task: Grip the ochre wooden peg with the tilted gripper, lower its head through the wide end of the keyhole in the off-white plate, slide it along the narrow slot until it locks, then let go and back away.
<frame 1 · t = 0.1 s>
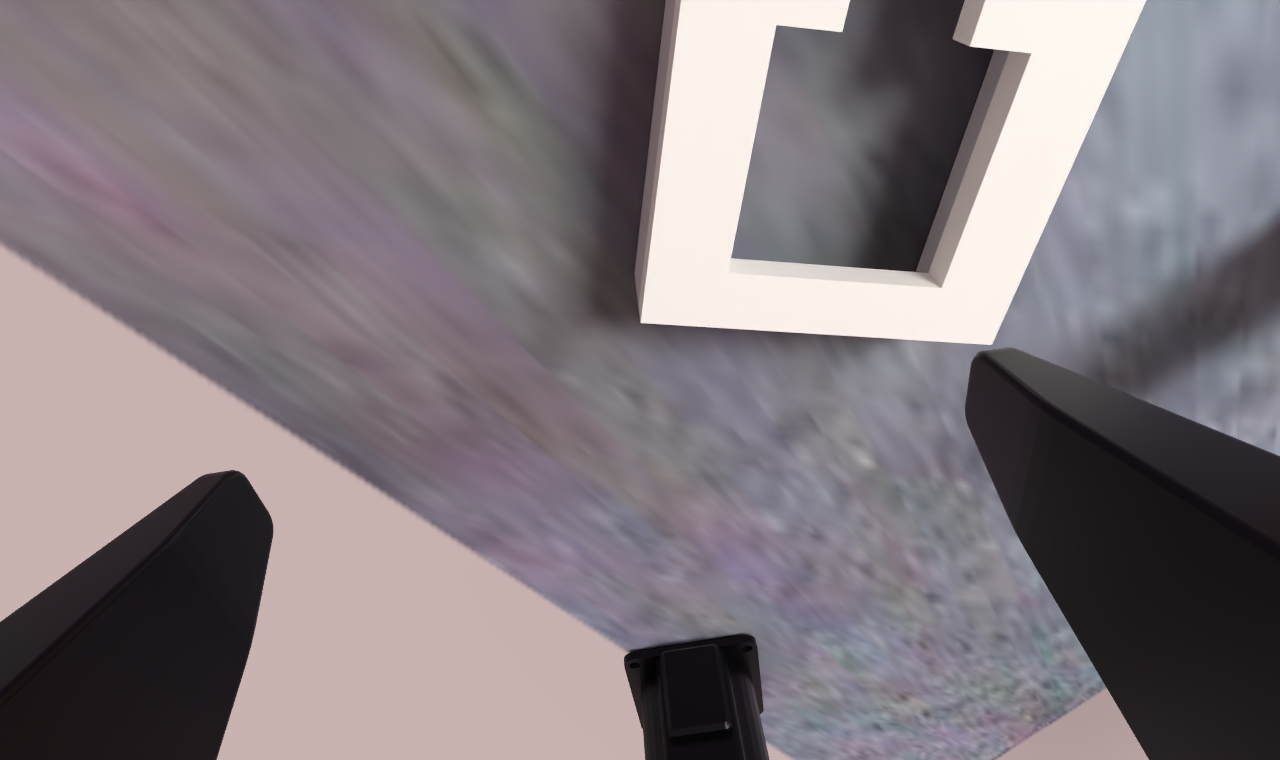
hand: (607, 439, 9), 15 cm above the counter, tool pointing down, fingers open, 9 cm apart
keyhole plate: (851, 65, 21), on the counter
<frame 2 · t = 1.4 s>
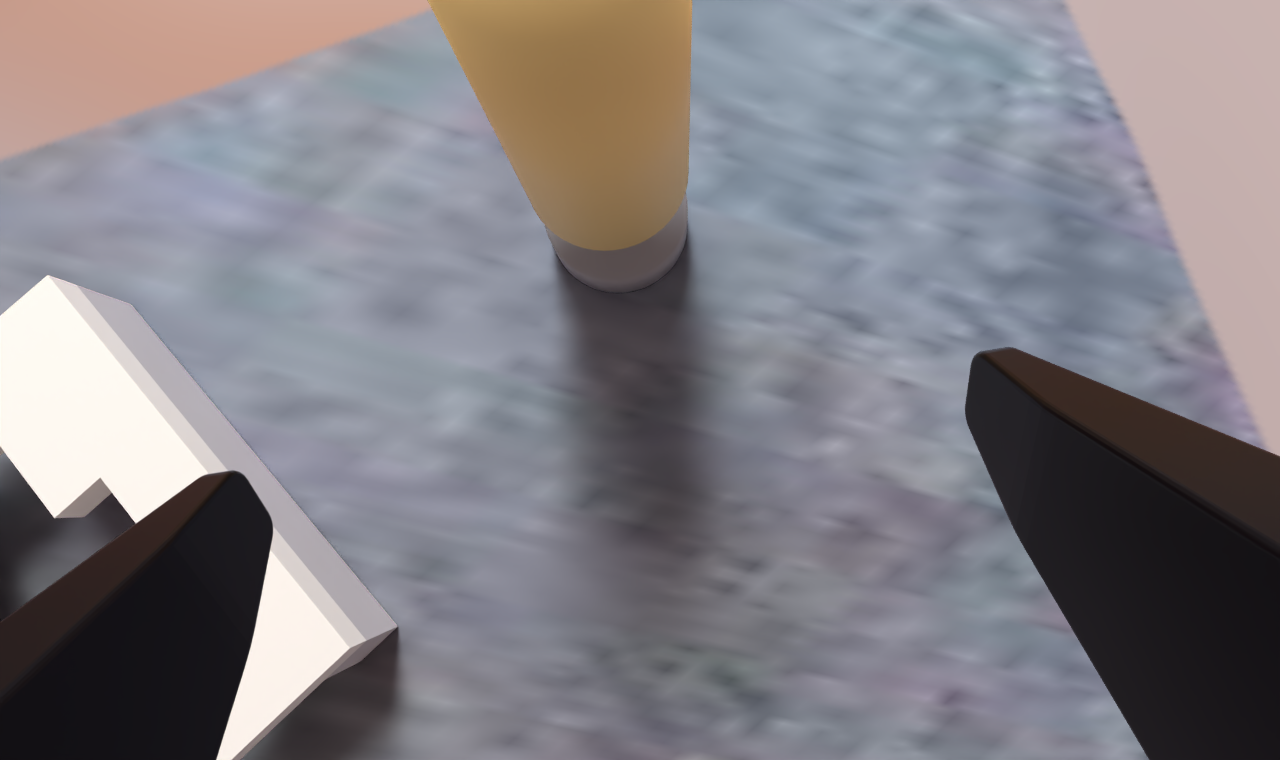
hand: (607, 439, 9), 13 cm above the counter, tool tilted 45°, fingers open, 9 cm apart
keyhole plate: (123, 579, 23), on the counter
headed peg: (619, 227, 23), on the counter
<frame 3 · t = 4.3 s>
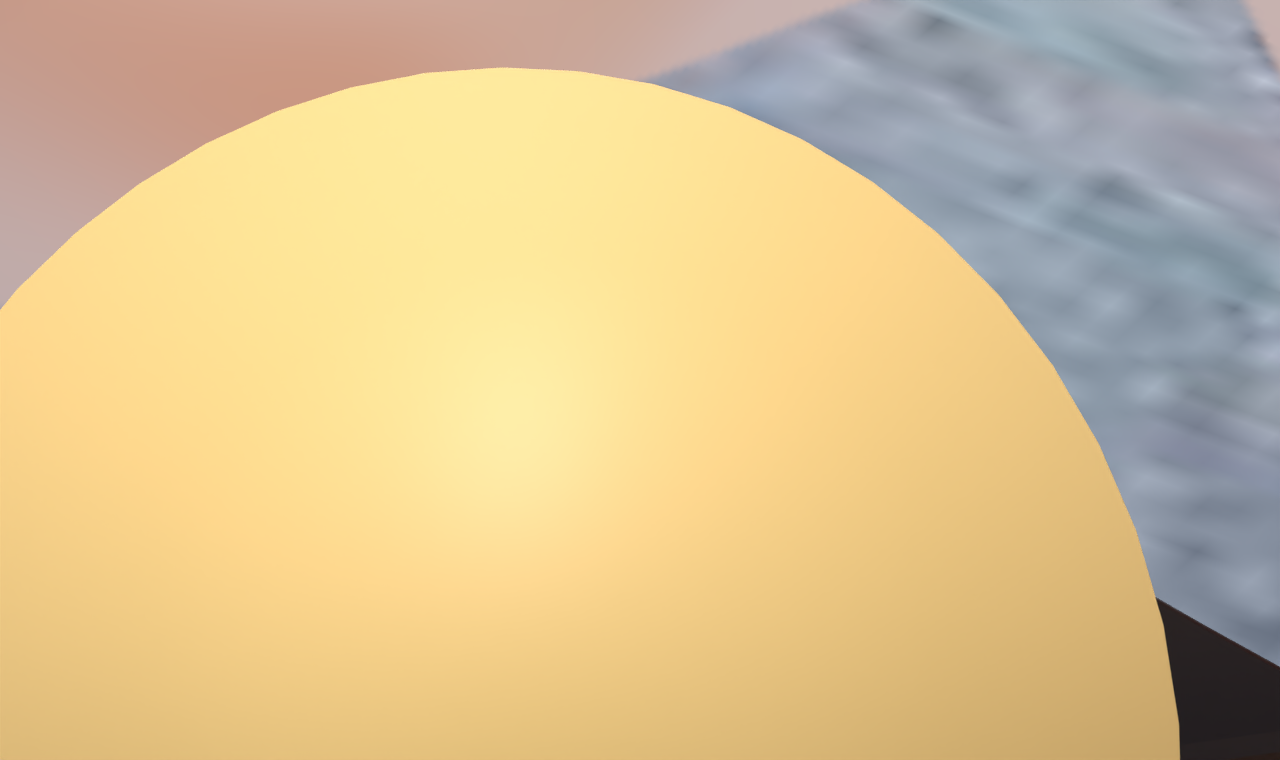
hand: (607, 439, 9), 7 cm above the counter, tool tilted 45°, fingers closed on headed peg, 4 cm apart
headed peg: (648, 531, 15), on the counter, touching gripper
when the fingers open (7 cm above the counter, at t = 11.0 s): headed peg stays where it is, on the counter.
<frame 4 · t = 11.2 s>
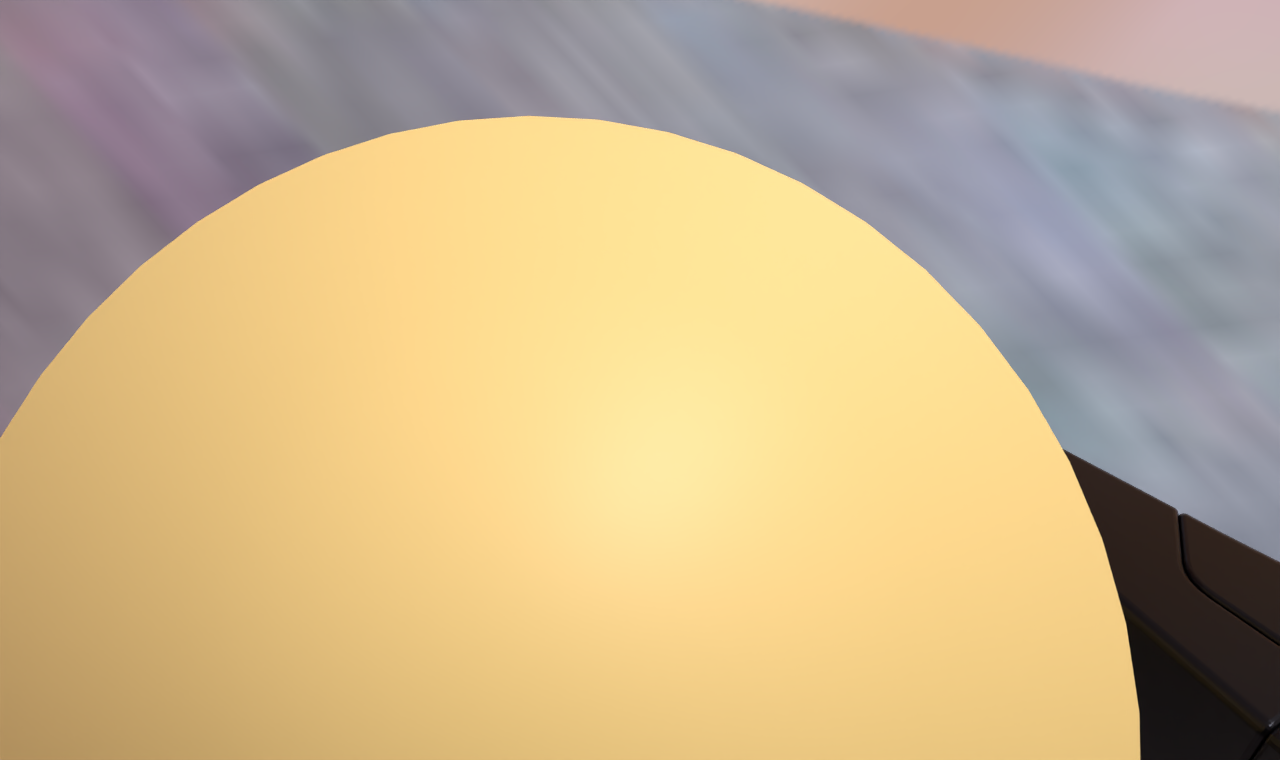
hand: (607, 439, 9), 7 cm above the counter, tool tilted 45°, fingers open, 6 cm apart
headed peg: (650, 533, 15), on the counter
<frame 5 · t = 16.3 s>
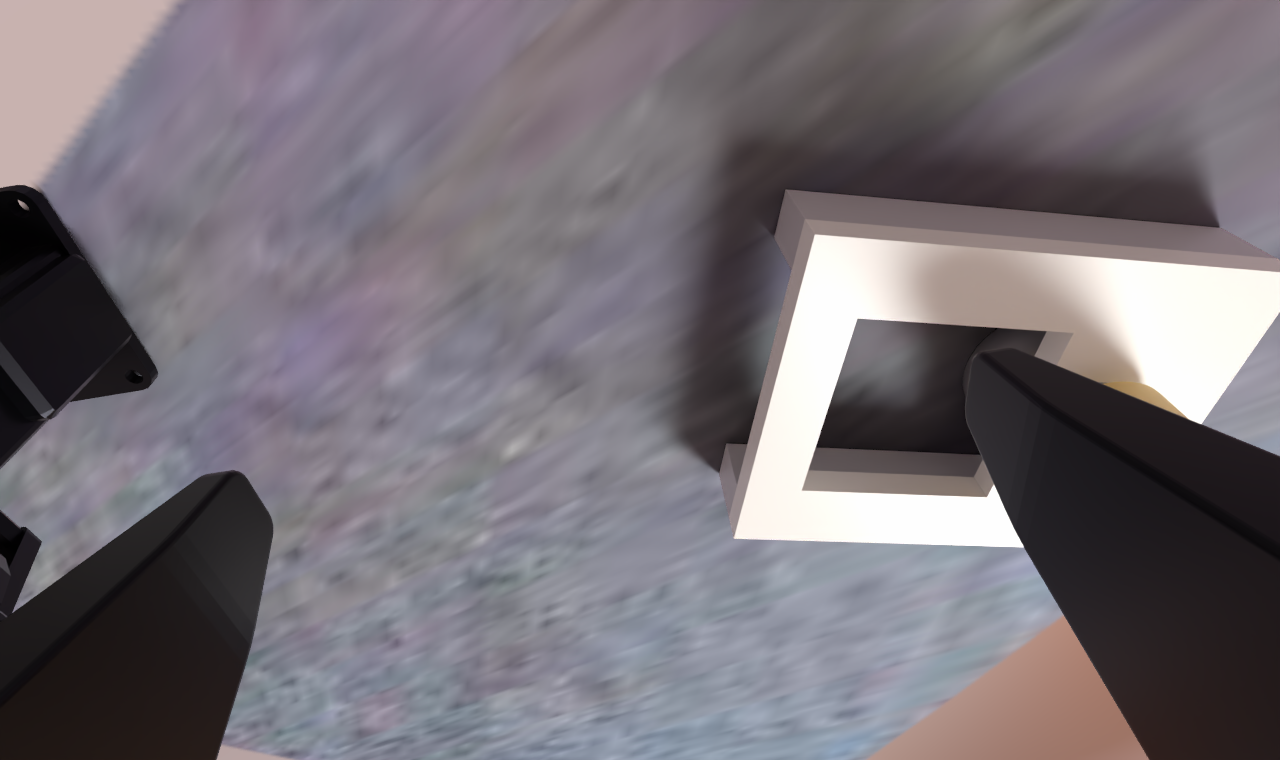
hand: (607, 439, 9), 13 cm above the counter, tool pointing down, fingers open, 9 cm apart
keyhole plate: (947, 362, 25), on the counter
headed peg: (1026, 367, 25), on the counter
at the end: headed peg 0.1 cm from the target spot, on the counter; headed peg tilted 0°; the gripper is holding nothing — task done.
